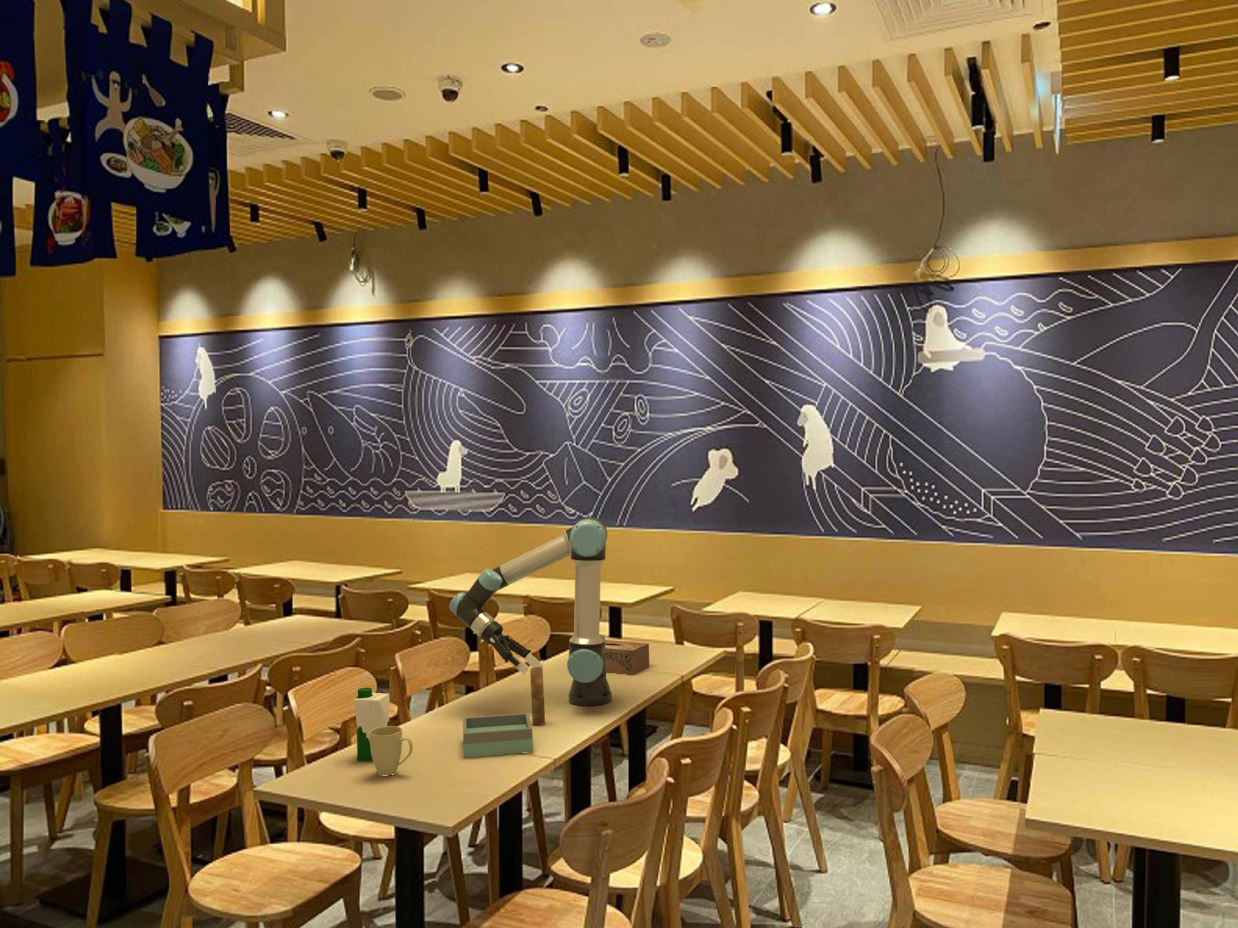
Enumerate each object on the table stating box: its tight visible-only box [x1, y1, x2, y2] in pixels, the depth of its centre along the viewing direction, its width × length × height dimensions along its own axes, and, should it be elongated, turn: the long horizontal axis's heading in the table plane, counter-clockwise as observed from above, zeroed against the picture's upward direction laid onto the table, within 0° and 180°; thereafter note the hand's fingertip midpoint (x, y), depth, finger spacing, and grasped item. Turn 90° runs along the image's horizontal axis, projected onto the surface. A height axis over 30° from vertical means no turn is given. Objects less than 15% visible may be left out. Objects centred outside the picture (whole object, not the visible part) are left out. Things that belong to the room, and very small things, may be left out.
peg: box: [529, 667, 546, 727], centre depth 310 cm, size 4×4×18 cm
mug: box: [369, 725, 414, 776], centre depth 266 cm, size 11×10×12 cm
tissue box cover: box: [605, 639, 650, 676], centre depth 384 cm, size 26×14×10 cm, turn 62°
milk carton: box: [353, 687, 390, 762], centre depth 281 cm, size 9×9×20 cm
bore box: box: [462, 712, 534, 759], centre depth 288 cm, size 20×17×7 cm
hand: (533, 669), depth 315 cm, fingers open, 13 cm apart
